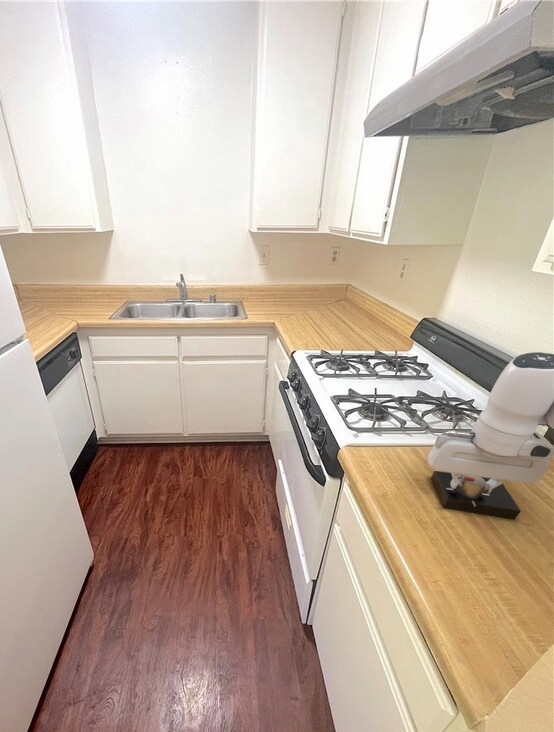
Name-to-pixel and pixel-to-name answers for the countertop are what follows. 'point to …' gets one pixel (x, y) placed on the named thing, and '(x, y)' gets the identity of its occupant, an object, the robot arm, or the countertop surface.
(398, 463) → the countertop surface
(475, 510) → the black knob base
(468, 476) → the hob knob
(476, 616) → the countertop surface
